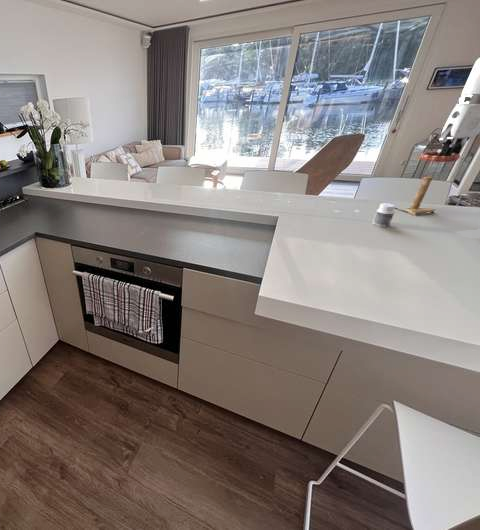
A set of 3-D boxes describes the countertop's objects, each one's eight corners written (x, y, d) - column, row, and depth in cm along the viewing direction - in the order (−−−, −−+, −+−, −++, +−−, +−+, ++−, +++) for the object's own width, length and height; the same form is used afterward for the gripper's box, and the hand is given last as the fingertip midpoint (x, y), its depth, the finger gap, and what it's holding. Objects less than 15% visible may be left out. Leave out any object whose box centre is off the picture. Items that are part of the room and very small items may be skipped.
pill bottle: (388, 230, 102) (398, 207, 98) (372, 228, 105) (380, 206, 100) (387, 225, 106) (396, 203, 102) (370, 223, 108) (378, 202, 104)
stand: (434, 212, 112) (451, 178, 105) (414, 215, 111) (430, 181, 104) (412, 205, 119) (426, 173, 112) (393, 208, 118) (406, 176, 112)
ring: (466, 160, 100) (469, 154, 99) (440, 163, 99) (443, 157, 98) (433, 155, 108) (436, 149, 107) (409, 158, 108) (411, 153, 106)
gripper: (466, 102, 91) (438, 162, 100) (510, 97, 92) (478, 157, 101) (440, 102, 97) (416, 158, 106) (481, 97, 98) (454, 153, 108)
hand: (447, 157), depth 104 cm, fingers closed on ring, 2 cm apart
